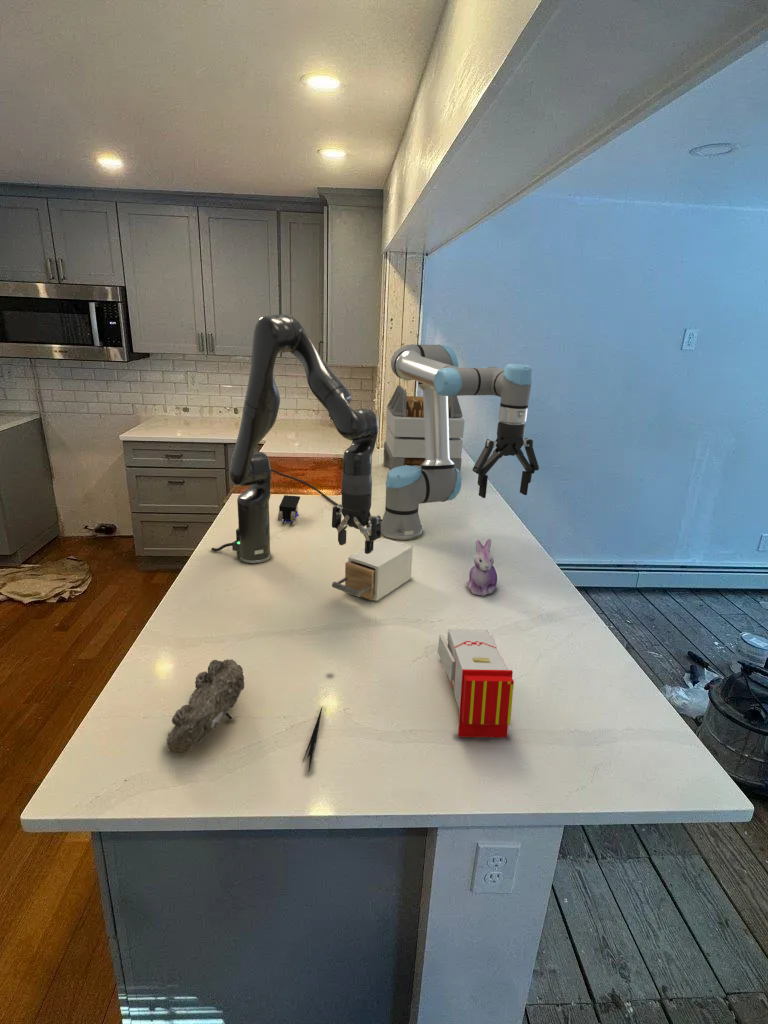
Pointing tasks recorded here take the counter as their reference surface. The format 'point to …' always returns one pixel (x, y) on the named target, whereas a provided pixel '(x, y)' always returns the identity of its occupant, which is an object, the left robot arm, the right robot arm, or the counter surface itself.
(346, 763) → the counter surface
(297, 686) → the counter surface
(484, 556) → the figurine
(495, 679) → the toy
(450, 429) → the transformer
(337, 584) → the drawer
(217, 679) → the fossil
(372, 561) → the cabinet
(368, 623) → the counter surface
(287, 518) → the figurine character
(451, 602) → the counter surface
